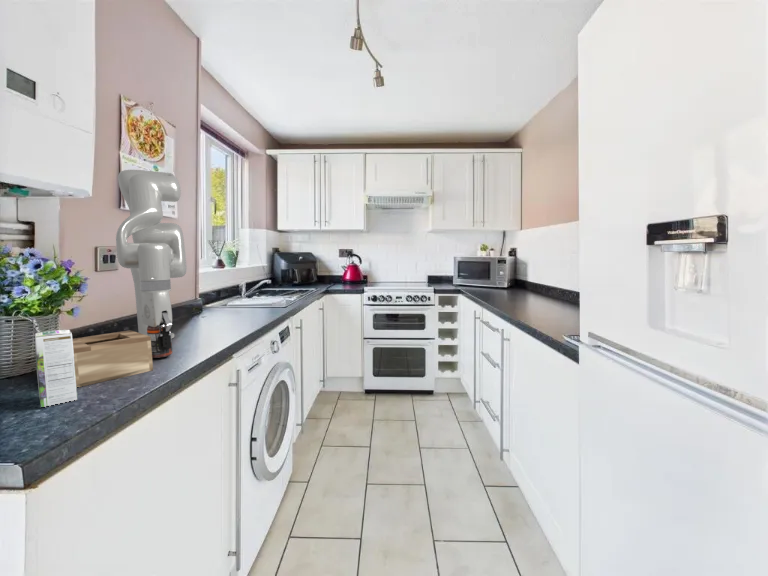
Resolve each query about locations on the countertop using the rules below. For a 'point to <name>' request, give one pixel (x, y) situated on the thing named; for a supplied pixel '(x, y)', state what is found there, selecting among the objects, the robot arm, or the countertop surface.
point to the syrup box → (55, 367)
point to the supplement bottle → (154, 343)
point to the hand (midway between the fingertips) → (160, 346)
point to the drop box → (111, 356)
